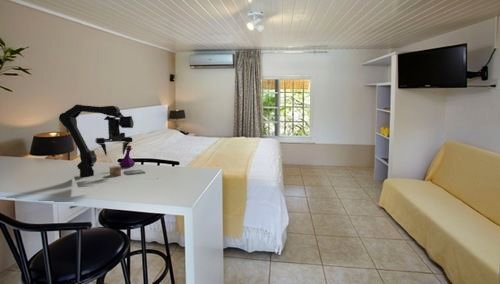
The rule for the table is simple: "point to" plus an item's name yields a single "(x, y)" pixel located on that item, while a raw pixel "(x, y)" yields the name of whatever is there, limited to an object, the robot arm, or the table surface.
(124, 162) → the perfume bottle
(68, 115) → the robot arm
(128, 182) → the table surface
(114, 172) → the walnut cube
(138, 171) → the slate coaster
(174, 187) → the table surface
